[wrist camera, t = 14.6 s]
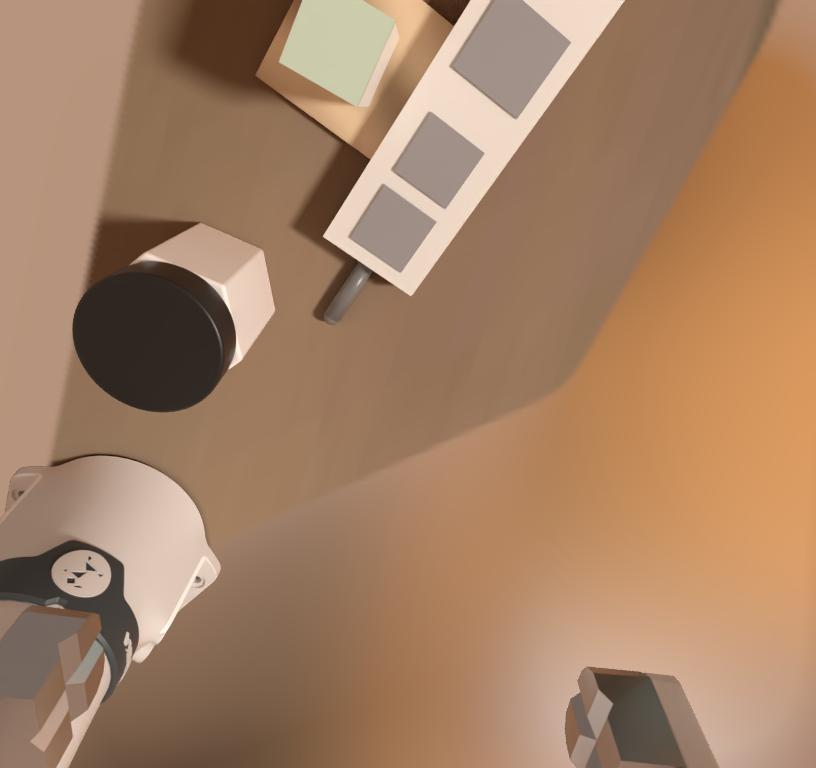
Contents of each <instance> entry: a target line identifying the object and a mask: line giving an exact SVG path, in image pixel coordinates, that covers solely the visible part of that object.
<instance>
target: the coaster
mask: <svg viewBox="0 0 816 768" xmlns="http://www.w3.org/2000/svg"><path fill="white" fill-rule="evenodd" d="M363 1H365V2H366V3H368V4H370V5H371V6H373V7H375V8H376V9H378V10H379V11H381V12H383V13H384V14H386V15H388V16H389V17H391V18H392V19H394V20H395V22H396V26H397V30H398V34H399V40H398V42H397V44H396V47H395V49H394V51H393V53H392V55H391V58H390V60H389V62H388V64H387V66H386V69H385V71H384V73H383V75H382V77H381V80H380V82H379V84H378V86H377V89H376V91H375V93H374V95H373V97H372V100H371V102H370V104H369V106H368V107H356V106H354V105H352V104H351V103H349V102H347V101H345V100H344V99H342V98H340V97H338V96H337V95H335V94H333V93H332V92H330V91H328V90H326V89H325V88H323V87H321V86H319V85H318V84H316V83H314V82H312V81H311V80H309V79H307V78H305V77H304V76H302V75H300V74H299V73H297V72H295V71H293V70H292V69H290V68H288V67H286V66H285V65H283V64H281V63H279V60H280V57H281V55H282V52H283V50H284V47H285V44H286V42H287V39H288V37H289V34H290V31H291V29H292V26H293V23H294V21H295V18H296V16H297V13H298V10H299V8H300V5H301V3H302V0H294V1H293V3H292V5H291V7H290V9H289V11H288V13H287V14H286V16H285V18H284V20H283V22H282V24H281V26H280V28H279V30H278V32H277V34H276V36H275V38H274V40H273V42H272V44H271V46H270V47H269V49H268V51H267V53H266V55H265V57H264V59H263V61H262V63H261V65H260V67H259V69H258V71H257V73H256V75H255V76H256V77H258V78H259V79H261V80H262V81H263V82H265V83H266V84H267V85H269V86H270V87H272V88H273V89H274V90H276V91H277V92H278V93H280V94H281V95H282V96H284V97H285V98H287V99H288V100H289V101H291V102H292V103H293V104H295V105H296V106H298V107H299V108H300V109H302V110H303V111H304V112H306V113H307V114H309V115H310V116H311V117H313V118H314V119H315V120H317V121H318V122H320V123H321V124H322V125H324V126H325V127H326V128H328V129H329V130H331V131H332V132H333V133H335V134H336V135H337V136H339V137H340V138H341V139H343V140H344V141H346V142H347V143H348V144H350V145H351V146H352V147H354V148H355V149H357V150H358V151H359V152H361V153H362V154H363V155H365V156H366V157H368V158H369V159H370V160H371V159H372V157H373V156H374V154H375V152H376V151H377V149H378V148H379V146H380V144H381V143H382V141H383V140H384V138H385V136H386V135H387V133H388V132H389V130H390V128H391V127H392V125H393V124H394V122H395V120H396V119H397V117H398V116H399V114H400V112H401V111H402V109H403V108H404V106H405V104H406V103H407V101H408V100H409V98H410V96H411V95H412V93H413V92H414V90H415V88H416V87H417V85H418V84H419V82H420V80H421V79H422V77H423V76H424V74H425V72H426V71H427V69H428V68H429V66H430V64H431V63H432V61H433V60H434V58H435V56H436V55H437V53H438V52H439V50H440V48H441V47H442V45H443V44H444V42H445V40H446V39H447V37H448V36H449V34H450V32H451V31H452V29H453V28H454V26H453V25H452V24H451V23H449V22H448V21H447V20H446V19H444V18H443V17H442V16H441V15H440V14H438V13H437V12H436V11H435V10H434V9H432V8H431V7H430V6H429V5H428V4H426V3H425V2H424V1H423V0H363Z"/></svg>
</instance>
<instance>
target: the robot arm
mask: <svg viewBox="0 0 816 768" xmlns="http://www.w3.org/2000/svg"><path fill="white" fill-rule="evenodd" d="M220 570H221V567H220V564H219V562H218V560H217V558H216V557H215V555H214V554H213V552H212V551H211V549H210V548H209V547H208V545H207V542H206V538H205V531H204V526H203V522H202V519H201V516H200V514H199V511H198V510H197V508H196V506H195V504H194V503H193V501H192V500H191V499H190V497H189V496H188V495H187V494H186V492H185V491H184V490H183V489H182V488H181V487H180V486H179V485H177V484H176V483H175V482H174V481H173V480H171V479H170V478H169V477H167V476H166V475H164V474H163V473H161V472H159V471H157V470H156V469H154V468H151V467H149V466H147V465H145V464H142V463H139V462H137V461H133V460H130V459H125V458H120V457H113V456H90V457H84V458H79V459H76V460H73V461H70V462H67V463H65V464H62V465H59V466H54V467H42V466H41V467H40V466H29V467H23V468H21V469H19V470H18V471H17V472H16V473H15V474H14V476H13V477H12V478H11V480H10V485H9V491H8V497H7V503H6V508H5V514H4V515H3V516H2V517H1V518H0V768H68V767H69V765H70V763H71V761H72V759H73V757H74V755H75V753H76V751H77V749H78V746H79V744H80V742H81V740H82V738H83V736H84V734H85V732H86V730H87V728H88V726H89V724H90V722H91V720H92V718H93V717H94V715H95V713H96V711H97V709H98V707H99V706H100V705H101V704H102V703H104V702H105V701H106V700H107V699H108V698H109V697H110V695H111V694H112V693H113V691H114V690H115V688H116V686H117V685H118V684H119V683H120V680H122V679H123V677H124V675H125V673H126V671H127V670H128V667H129V665H130V662H131V659H132V660H134V661H136V662H137V663H138V662H139V663H141V662H142V661H143V660H144V659H145V658H146V657H147V656H148V655H149V653H150V652H151V650H152V649H153V647H154V645H156V644H158V643H159V642H160V641H161V640H162V638H163V637H164V635H165V633H166V631H167V630H168V628H169V627H170V625H171V623H172V621H173V619H174V618H175V616H176V614H177V612H178V611H179V610H180V609H181V608H183V607H184V606H185V605H186V604H187V603H189V602H190V601H191V600H192V599H193V598H195V597H196V596H197V595H198V594H199V593H200V592H202V591H203V590H204V589H205V588H206V587H208V586H209V585H210V584H211V583H212V582H213V581H214V580H215V579H216V578H217V576H218V574H219V572H220ZM197 576H199V577H197ZM578 685H579V688H580V693H579V694H577V695H576V696H574V697H573V698H571V699H570V702H569V705H568V708H567V711H566V722H565V734H566V744H567V749H568V753H569V758H570V760H571V761H572V763H574V765H575V766H576V767H577V768H719V766H718V764H717V761H716V759H715V757H714V755H713V753H712V750H711V748H710V746H709V744H708V742H707V740H706V738H705V736H704V733H703V731H702V729H701V727H700V725H699V723H698V720H697V718H696V716H695V714H694V712H693V710H692V708H691V705H690V703H689V701H688V699H687V697H686V695H685V693H684V691H683V689H682V686H681V684H680V682H679V681H678V680H677V679H676V678H675V677H674V676H669V675H660V674H651V673H642V672H638V671H637V672H636V671H627V670H616V669H607V668H596V667H586V668H584V669H583V670H582V671H581V674H580V676H579V679H578Z"/></svg>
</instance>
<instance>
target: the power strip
mask: <svg viewBox="0 0 816 768" xmlns="http://www.w3.org/2000/svg"><path fill="white" fill-rule="evenodd" d="M624 1H625V0H470V2H469V4H468V5H467V7H466V8H465V10H464V12H463V13H462V15H461V16H460V18H459V20H458V21H457V23H456V24H455V26H454V28H453V29H452V31H451V32H450V34H449V36H448V37H447V39H446V40H445V42H444V44H443V45H442V47H441V48H440V50H439V52H438V53H437V55H436V56H435V58H434V60H433V61H432V63H431V64H430V66H429V68H428V69H427V71H426V72H425V74H424V76H423V77H422V79H421V80H420V82H419V84H418V85H417V87H416V88H415V90H414V92H413V93H412V95H411V96H410V98H409V100H408V101H407V103H406V104H405V106H404V108H403V109H402V111H401V112H400V114H399V116H398V117H397V119H396V120H395V122H394V124H393V125H392V127H391V128H390V130H389V132H388V133H387V135H386V136H385V138H384V140H383V141H382V143H381V144H380V146H379V148H378V149H377V151H376V152H375V154H374V156H373V157H372V159H371V160H370V162H369V164H368V165H367V167H366V168H365V170H364V172H363V173H362V175H361V176H360V178H359V180H358V181H357V183H356V184H355V186H354V188H353V189H352V191H351V192H350V194H349V196H348V197H347V199H346V200H345V202H344V203H343V205H342V207H341V208H340V210H339V211H338V213H337V215H336V216H335V218H334V219H333V221H332V223H331V224H330V226H329V227H328V229H327V231H326V232H325V234H324V235H323V237H324V238H326V239H327V240H329V241H330V242H331V243H333V244H334V245H336V246H337V247H339V248H340V249H342V250H343V251H345V252H346V253H348V254H349V255H351V256H352V257H354V258H355V259H357V260H358V261H359V262H358V263H357V265H356V266H355V268H354V269H353V271H352V272H351V274H350V275H349V277H348V278H347V280H346V281H345V283H344V284H343V286H342V287H341V289H340V290H339V292H338V293H337V295H336V296H335V298H334V299H333V301H332V302H331V304H330V305H329V307H328V308H327V310H326V311H325V313H324V320H325V322H326V323H327V324H329V325H335V324H337V323H338V322H339V321H340V319H341V318H342V316H343V315H344V313H345V312H346V310H347V309H348V307H349V306H350V305H351V303H352V302H353V300H354V299H355V297H356V296H357V294H358V293H359V291H360V290H361V288H362V287H363V285H364V284H365V282H366V281H367V279H368V278H369V277H370V275H371V274H372V272H373V271H374V272H376V273H377V274H379V275H380V276H382V277H383V278H385V279H386V280H388V281H389V282H391V283H392V284H394V285H395V286H396V287H398V288H399V289H401V290H402V291H404V292H405V293H407V294H408V295H410V296H412V294H413V293H414V292H415V290H416V289H417V288H418V286H419V285H420V283H421V282H422V281H423V279H424V278H425V276H426V275H427V274H428V272H429V271H430V269H431V268H432V267H433V265H434V264H435V263H436V261H437V260H438V258H439V257H440V256H441V254H442V253H443V251H444V250H445V249H446V247H447V246H448V245H449V243H450V242H451V240H452V239H453V238H454V236H455V235H456V233H457V232H458V231H459V229H460V228H461V227H462V225H463V224H464V222H465V221H466V220H467V218H468V217H469V215H470V214H471V213H472V211H473V210H474V209H475V207H476V206H477V204H478V203H479V202H480V200H481V199H482V197H483V196H484V195H485V193H486V192H487V190H488V189H489V188H490V186H491V185H492V184H493V182H494V181H495V179H496V178H497V177H498V175H499V174H500V172H501V171H502V170H503V168H504V167H505V166H506V164H507V163H508V161H509V160H510V159H511V157H512V156H513V154H514V153H515V152H516V150H517V149H518V148H519V146H520V145H521V143H522V142H523V141H524V139H525V138H526V136H527V135H528V134H529V132H530V131H531V130H532V128H533V127H534V125H535V124H536V123H537V121H538V120H539V118H540V117H541V116H542V114H543V113H544V112H545V110H546V109H547V107H548V106H549V105H550V103H551V102H552V100H553V99H554V98H555V96H556V95H557V93H558V92H559V91H560V89H561V88H562V87H563V85H564V84H565V82H566V81H567V80H568V78H569V77H570V75H571V74H572V73H573V71H574V70H575V69H576V67H577V66H578V64H579V63H580V62H581V60H582V59H583V57H584V56H585V55H586V53H587V52H588V51H589V49H590V48H591V46H592V45H593V44H594V42H595V41H596V39H597V38H598V37H599V35H600V34H601V33H602V31H603V30H604V28H605V27H606V26H607V24H608V23H609V21H610V20H611V19H612V17H613V16H614V14H615V13H616V12H617V10H618V9H619V8H620V6H621V5H622V3H623V2H624Z"/></svg>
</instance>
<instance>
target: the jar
mask: <svg viewBox="0 0 816 768" xmlns="http://www.w3.org/2000/svg"><path fill="white" fill-rule="evenodd" d="M274 312H275V307H274V302H273V297H272V292H271V287H270V282H269V277H268V272H267V267H266V262H265V257H264V253H263V250H262V249H260V248H258V247H255V246H253V245H251V244H249V243H246V242H244V241H242V240H239V239H237V238H235V237H232V236H230V235H228V234H226V233H223V232H221V231H219V230H216V229H214V228H212V227H210V226H207V225H205V224H203V223H198V224H197V225H195V226H193V227H191V228H189V229H187V230H185V231H184V232H182V233H180V234H178V235H176V236H174V237H172V238H170V239H169V240H167V241H165V242H163V243H161V244H159V245H157V246H156V247H154V248H152V249H150V250H148V251H146V252H144V253H143V254H142V255H140V256H139V257H138V258H137V259H136V260H134V261H133V262H132V263H131V264H130V265H128V266H126V267H124V268H122V269H120V270H118V271H117V272H115V273H113V274H111V275H109V276H107V277H106V278H104V279H102V280H100V281H99V282H97V283H96V284H94V285H93V286H92V287H91V288H90V289H89V290H88V291H87V292H86V293H85V294H84V295H83V297H82V298H81V300H80V302H79V303H78V306H77V308H76V310H75V314H74V318H73V329H72V330H73V340H74V345H75V349H76V352H77V354H78V357H79V359H80V361H81V363H82V365H83V367H84V368H85V370H86V371H87V373H88V374H89V376H90V377H91V378H92V379H93V380H94V381H95V383H96V384H97V385H98V386H99V387H101V388H102V389H103V390H104V391H105V392H107V393H108V394H109V395H111V396H112V397H114V398H115V399H117V400H119V401H121V402H123V403H125V404H127V405H129V406H132V407H135V408H138V409H141V410H145V411H151V412H174V411H179V410H183V409H187V408H189V407H191V406H194V405H195V404H197V403H199V402H200V401H202V400H203V399H205V398H206V397H207V396H208V395H209V394H210V393H211V392H212V391H213V390H214V388H215V387H216V386H217V384H218V383H219V381H220V380H221V379H222V377H223V376H224V374H225V373H226V372H227V370H229V369H230V368H232V367H233V366H234V365H236V364H237V363H239V362H240V361H241V360H242V359H243V357H244V356H245V354H246V353H247V352H248V350H249V349H250V347H251V346H252V344H253V343H254V341H255V340H256V338H257V337H258V336H259V334H260V333H261V331H262V330H263V328H264V327H265V325H266V324H267V323H268V321H269V320H270V318H271V317H272V315H273V314H274Z"/></svg>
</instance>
